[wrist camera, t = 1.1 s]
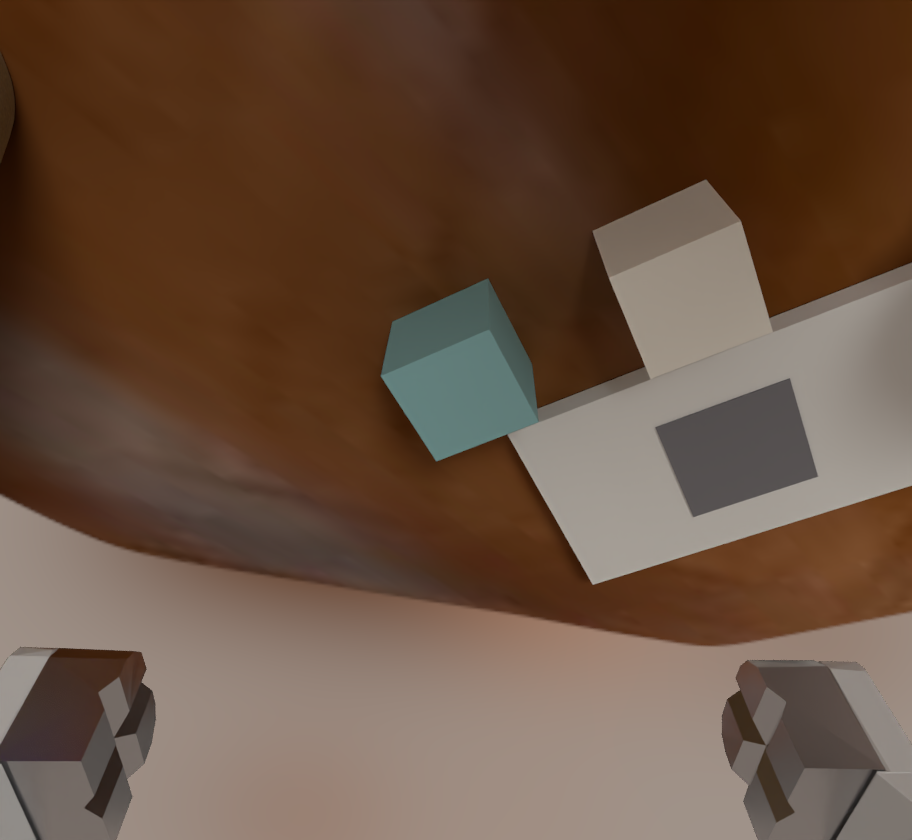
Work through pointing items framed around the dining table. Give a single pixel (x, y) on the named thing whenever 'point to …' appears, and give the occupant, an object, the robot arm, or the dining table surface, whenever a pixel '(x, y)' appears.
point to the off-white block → (684, 278)
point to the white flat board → (734, 435)
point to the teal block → (460, 372)
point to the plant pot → (5, 107)
